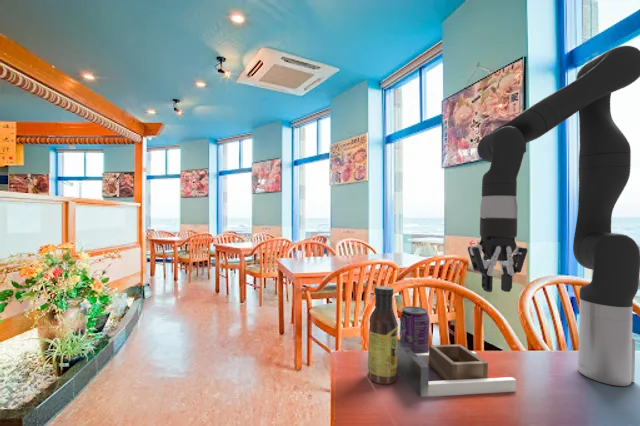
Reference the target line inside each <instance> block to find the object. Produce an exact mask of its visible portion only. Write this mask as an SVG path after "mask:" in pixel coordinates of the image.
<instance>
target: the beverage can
mask: <svg viewBox="0 0 640 426" xmlns="http://www.w3.org/2000/svg"><path fill="white" fill-rule="evenodd" d="M399 318H400V319H399V320H400V321H399V323H400V326H399V328H400V329H399V339H400V340H401V341H402V342H403V343H405V344H406V345H407V346H408V347H409V348H410V349H411V350H412V351H413V352H414V353H429V344H430V343H429V341H430V317H429V314H428V309H426V308H423V307H419V306H410V305H409V306H403V307H402V312H401V313H400V317H399Z"/></svg>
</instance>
